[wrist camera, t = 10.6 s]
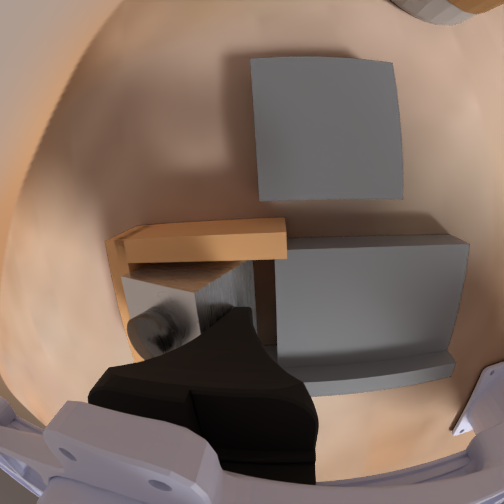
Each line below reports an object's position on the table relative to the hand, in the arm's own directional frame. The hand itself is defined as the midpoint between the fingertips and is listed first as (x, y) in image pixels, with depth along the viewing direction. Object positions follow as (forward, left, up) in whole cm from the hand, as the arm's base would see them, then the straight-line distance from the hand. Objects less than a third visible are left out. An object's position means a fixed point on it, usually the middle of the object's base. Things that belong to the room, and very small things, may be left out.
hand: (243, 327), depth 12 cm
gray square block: (-4, -8, -3) cm, 9 cm away
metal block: (+1, -1, -2) cm, 3 cm away
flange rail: (-3, 0, -3) cm, 4 cm away
